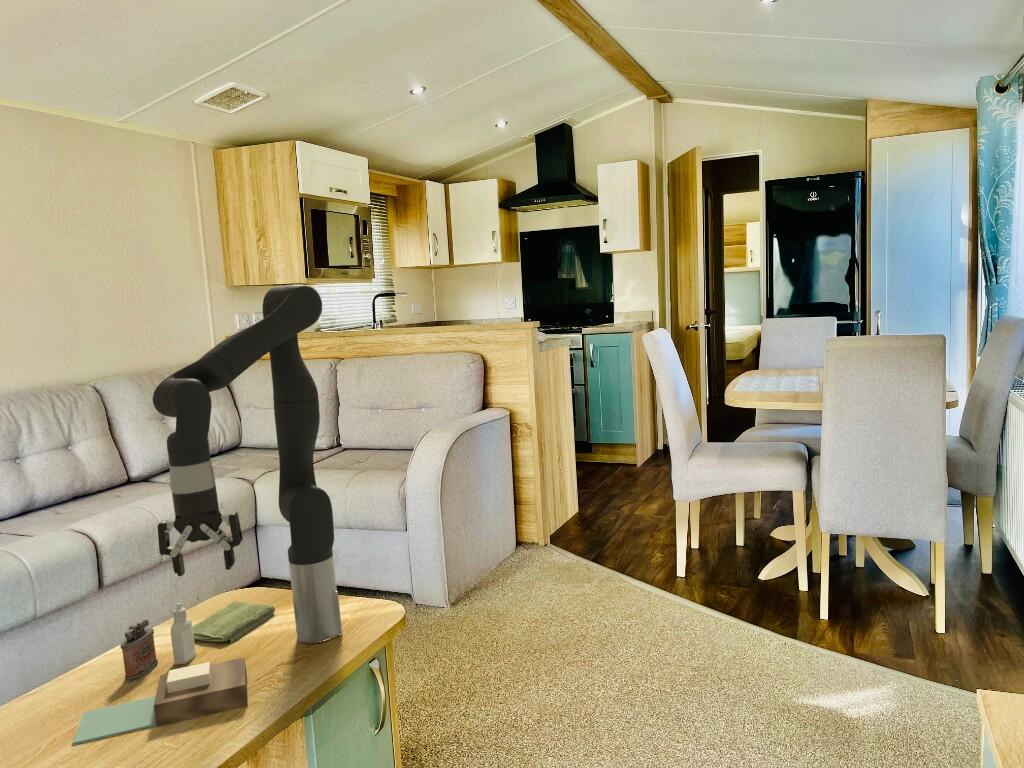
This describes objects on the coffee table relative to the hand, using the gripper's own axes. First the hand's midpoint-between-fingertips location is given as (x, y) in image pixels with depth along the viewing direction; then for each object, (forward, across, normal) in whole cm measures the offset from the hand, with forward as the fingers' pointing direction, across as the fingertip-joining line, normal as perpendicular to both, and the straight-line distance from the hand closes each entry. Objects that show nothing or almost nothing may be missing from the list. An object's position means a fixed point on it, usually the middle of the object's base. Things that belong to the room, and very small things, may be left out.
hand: (205, 571), depth 142 cm
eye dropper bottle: (+23, +11, -16) cm, 30 cm away
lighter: (+23, +18, -12) cm, 32 cm away
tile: (+19, +4, +4) cm, 20 cm away
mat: (+23, +16, +7) cm, 28 cm away
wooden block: (+23, +2, +4) cm, 23 cm away
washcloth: (+24, +5, -30) cm, 39 cm away
